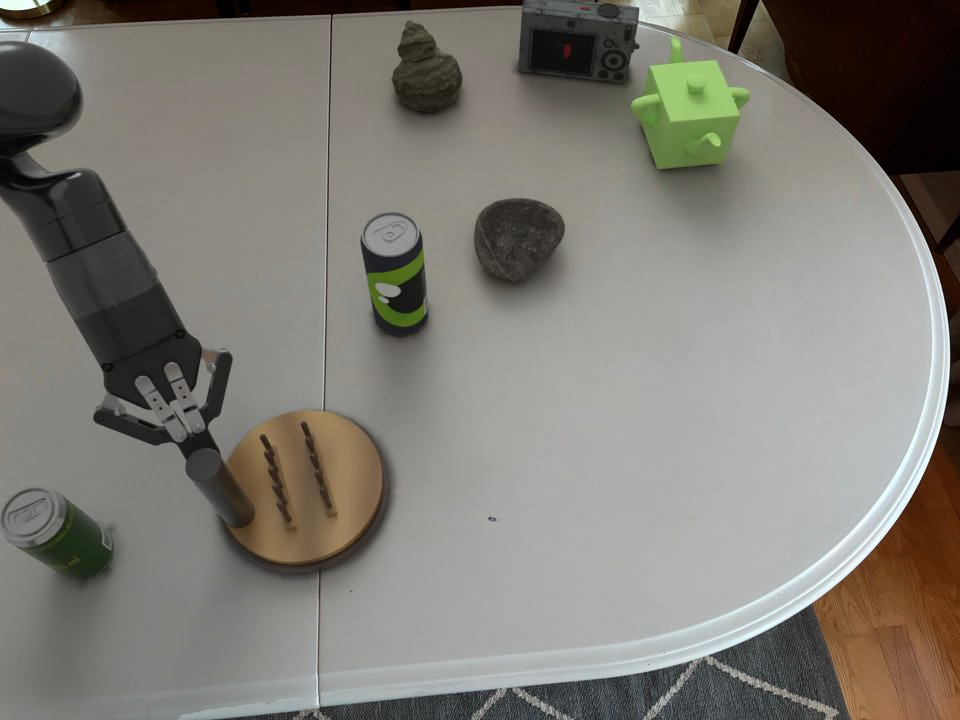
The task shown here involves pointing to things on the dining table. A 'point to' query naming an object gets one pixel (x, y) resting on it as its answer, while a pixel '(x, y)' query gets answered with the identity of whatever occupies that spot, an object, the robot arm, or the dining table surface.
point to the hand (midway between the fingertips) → (211, 469)
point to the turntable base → (337, 557)
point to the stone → (516, 237)
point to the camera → (578, 39)
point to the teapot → (688, 111)
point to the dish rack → (294, 486)
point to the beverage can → (395, 272)
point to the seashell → (424, 71)
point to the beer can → (55, 532)
